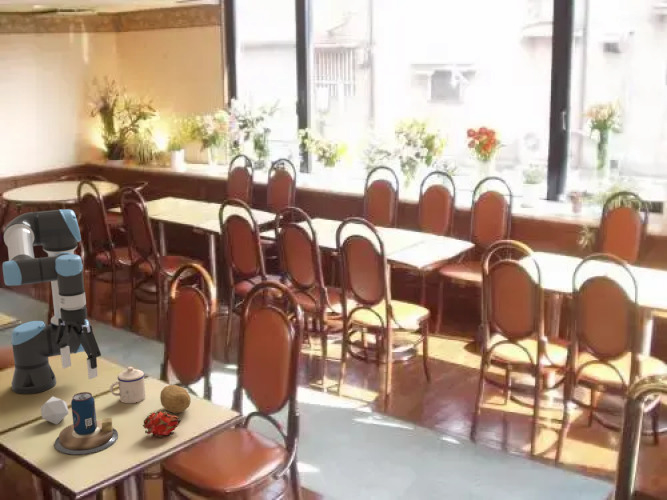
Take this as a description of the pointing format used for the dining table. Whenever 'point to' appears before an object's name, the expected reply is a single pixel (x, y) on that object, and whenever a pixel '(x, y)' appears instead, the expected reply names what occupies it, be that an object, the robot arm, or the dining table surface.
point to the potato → (175, 399)
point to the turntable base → (86, 451)
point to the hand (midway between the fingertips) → (79, 372)
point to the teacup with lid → (130, 386)
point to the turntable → (87, 436)
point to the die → (54, 410)
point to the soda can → (84, 413)
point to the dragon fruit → (160, 423)
